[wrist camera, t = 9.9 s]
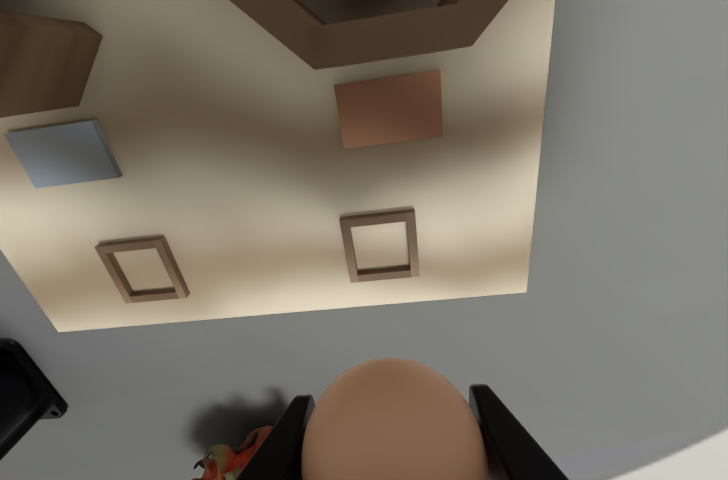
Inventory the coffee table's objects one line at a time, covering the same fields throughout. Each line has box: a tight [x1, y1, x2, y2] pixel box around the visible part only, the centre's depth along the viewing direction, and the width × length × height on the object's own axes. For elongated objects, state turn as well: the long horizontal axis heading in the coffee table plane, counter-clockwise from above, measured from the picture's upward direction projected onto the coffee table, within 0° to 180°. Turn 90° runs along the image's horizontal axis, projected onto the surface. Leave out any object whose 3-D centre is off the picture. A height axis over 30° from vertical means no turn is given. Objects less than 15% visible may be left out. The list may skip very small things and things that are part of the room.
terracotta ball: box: [301, 358, 488, 480], centre depth 8 cm, size 4×4×4 cm
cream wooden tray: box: [0, 0, 555, 332], centre depth 11 cm, size 19×26×8 cm
